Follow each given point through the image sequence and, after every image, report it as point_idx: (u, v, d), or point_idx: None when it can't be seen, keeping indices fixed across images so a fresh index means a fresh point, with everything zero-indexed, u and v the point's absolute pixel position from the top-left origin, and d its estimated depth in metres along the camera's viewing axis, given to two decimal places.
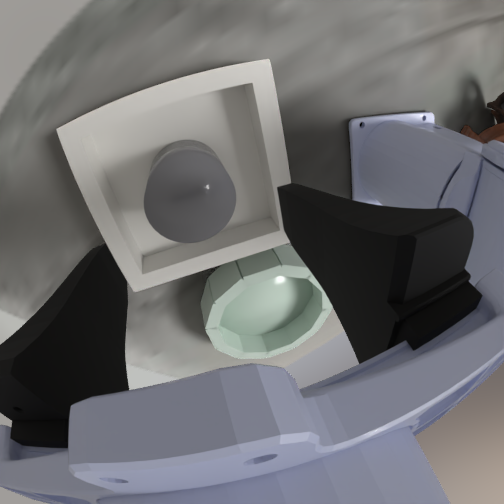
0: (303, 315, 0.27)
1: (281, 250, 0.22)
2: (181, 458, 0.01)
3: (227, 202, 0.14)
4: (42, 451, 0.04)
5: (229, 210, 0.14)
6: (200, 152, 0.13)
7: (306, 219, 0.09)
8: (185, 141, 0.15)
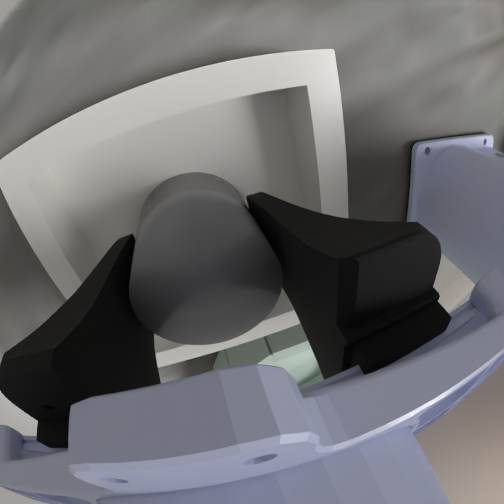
0: None
1: None
2: (181, 458, 0.01)
3: (268, 291, 0.09)
4: None
5: (269, 302, 0.09)
6: (222, 207, 0.08)
7: (270, 230, 0.09)
8: (193, 177, 0.10)
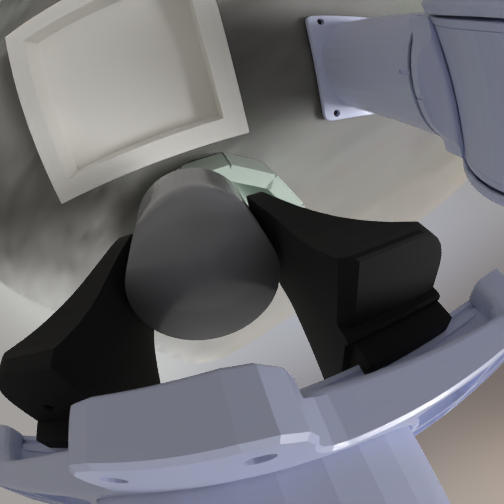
0: None
1: (235, 158, 0.18)
2: (181, 458, 0.01)
3: (265, 283, 0.09)
4: None
5: (267, 294, 0.09)
6: (217, 198, 0.08)
7: (270, 230, 0.09)
8: (189, 172, 0.10)
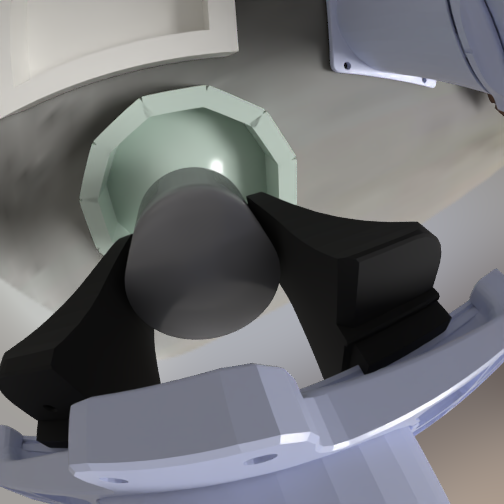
0: None
1: None
2: (181, 458, 0.01)
3: (266, 281, 0.09)
4: None
5: (268, 292, 0.09)
6: (216, 197, 0.08)
7: (270, 230, 0.09)
8: (188, 171, 0.10)
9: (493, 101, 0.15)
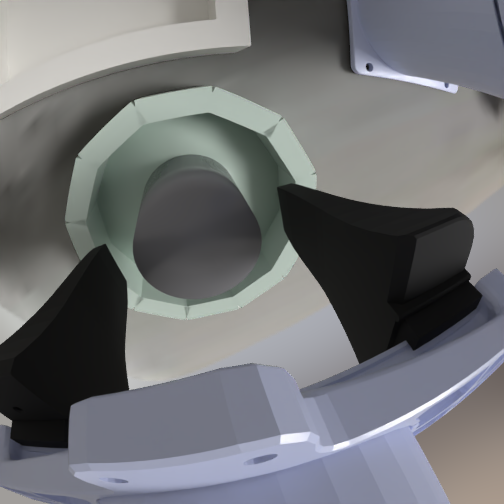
0: None
1: None
2: (181, 458, 0.01)
3: (249, 247, 0.10)
4: (42, 451, 0.04)
5: (252, 257, 0.11)
6: (208, 177, 0.10)
7: (306, 219, 0.09)
8: (187, 157, 0.12)
9: None
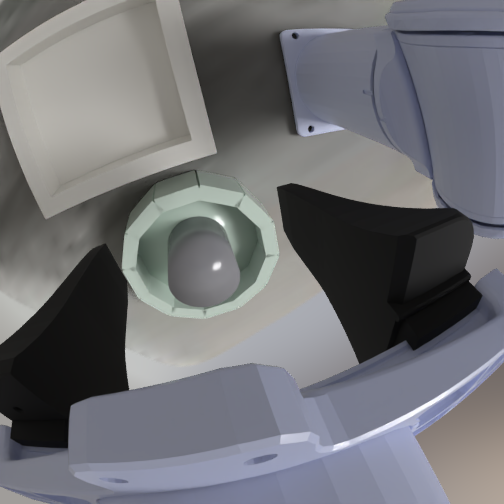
0: (249, 267, 0.23)
1: (207, 176, 0.18)
2: (181, 458, 0.01)
3: (233, 275, 0.18)
4: (42, 451, 0.04)
5: (235, 280, 0.18)
6: (205, 239, 0.17)
7: (306, 219, 0.09)
8: (192, 221, 0.19)
9: None
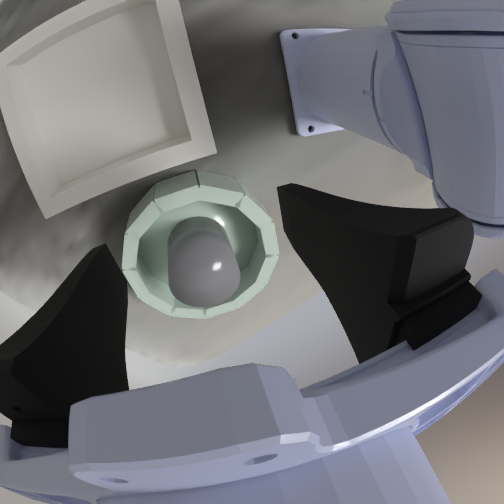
0: (249, 267, 0.23)
1: (207, 176, 0.18)
2: (181, 458, 0.01)
3: (233, 276, 0.18)
4: (42, 451, 0.04)
5: (236, 281, 0.18)
6: (205, 239, 0.17)
7: (306, 219, 0.09)
8: (192, 221, 0.19)
9: None
